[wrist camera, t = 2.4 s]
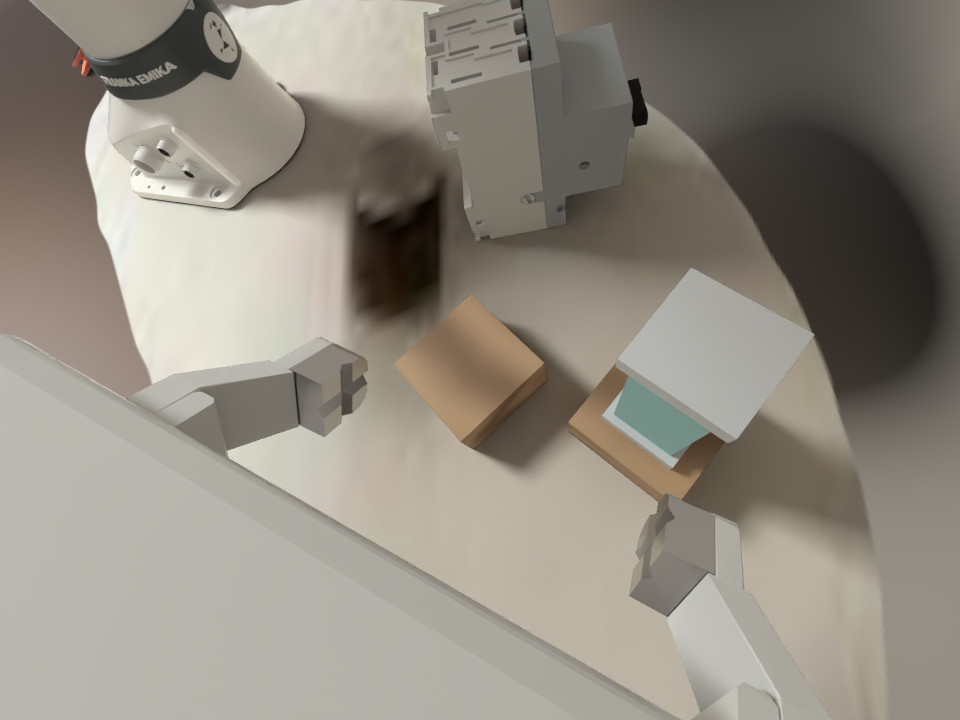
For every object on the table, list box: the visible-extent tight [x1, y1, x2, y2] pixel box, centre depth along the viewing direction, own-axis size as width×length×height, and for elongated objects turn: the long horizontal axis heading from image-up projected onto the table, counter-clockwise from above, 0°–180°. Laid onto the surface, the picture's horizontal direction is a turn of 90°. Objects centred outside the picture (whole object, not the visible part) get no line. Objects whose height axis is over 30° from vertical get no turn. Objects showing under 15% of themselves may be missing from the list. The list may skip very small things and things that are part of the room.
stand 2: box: [568, 364, 725, 502], centre depth 29 cm, size 8×8×4 cm
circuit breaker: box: [424, 0, 648, 242], centre depth 33 cm, size 8×14×15 cm, turn 94°
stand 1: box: [394, 295, 548, 449], centre depth 33 cm, size 8×8×4 cm
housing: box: [601, 268, 814, 469], centre depth 22 cm, size 5×5×12 cm
